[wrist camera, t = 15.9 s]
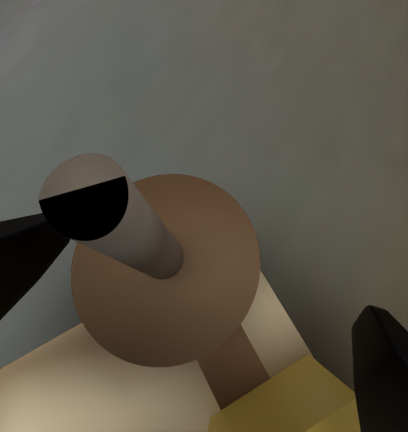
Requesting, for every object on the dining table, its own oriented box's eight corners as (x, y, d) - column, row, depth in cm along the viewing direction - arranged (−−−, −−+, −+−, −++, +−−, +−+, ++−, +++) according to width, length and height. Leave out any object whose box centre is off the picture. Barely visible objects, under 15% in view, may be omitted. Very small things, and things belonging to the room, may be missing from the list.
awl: (257, 326, 14) (512, 446, 1) (184, 345, 14) (-288, 651, 1) (235, 254, 15) (253, -22, 3) (170, 272, 15) (-111, 77, 3)
